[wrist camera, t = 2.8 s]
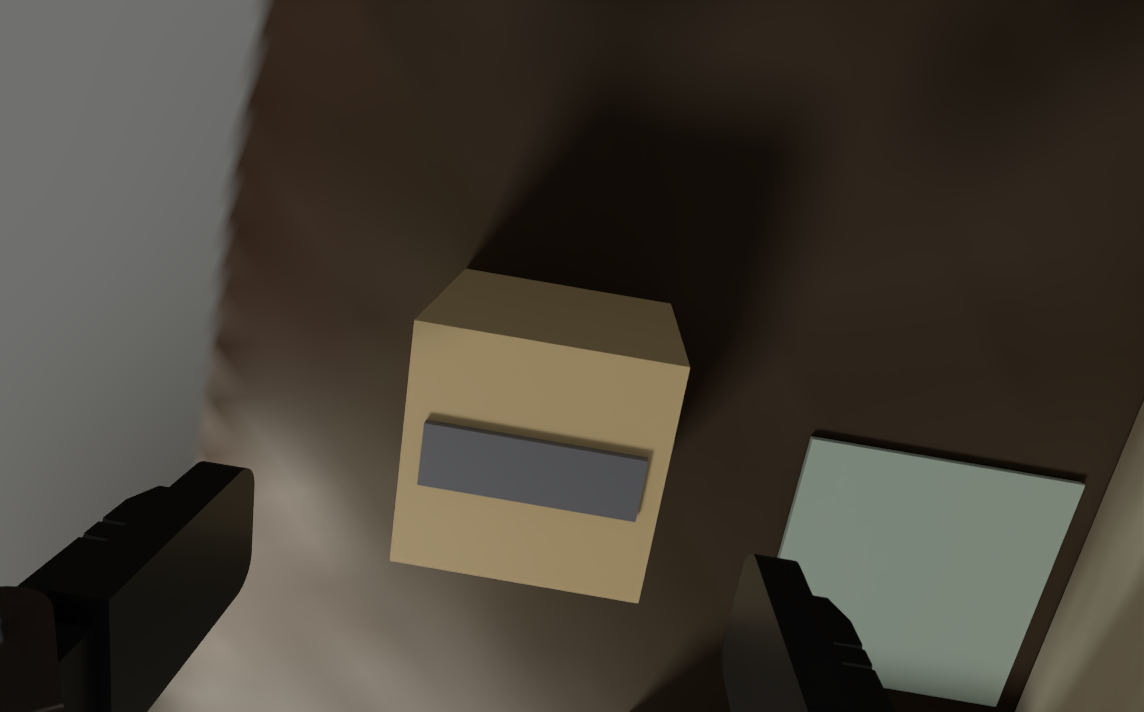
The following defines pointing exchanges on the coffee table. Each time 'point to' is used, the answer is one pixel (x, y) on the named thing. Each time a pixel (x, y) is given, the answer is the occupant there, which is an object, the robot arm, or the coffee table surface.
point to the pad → (928, 559)
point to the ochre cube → (538, 434)
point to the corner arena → (1100, 607)
